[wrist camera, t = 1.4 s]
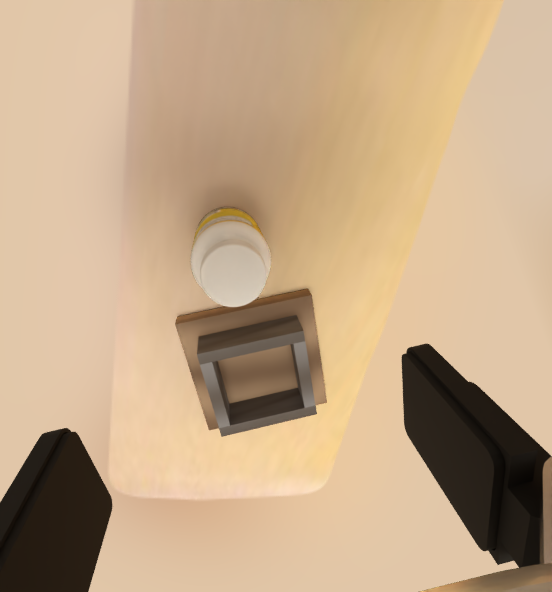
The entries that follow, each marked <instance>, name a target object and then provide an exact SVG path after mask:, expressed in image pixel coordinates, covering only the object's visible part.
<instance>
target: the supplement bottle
mask: <svg viewBox="0 0 552 592" xmlns="http://www.w3.org/2000/svg"><path fill="white" fill-rule="evenodd" d="M191 269H192V273H193V276H194V278H195V280H196V281H197V283H198V284H199V286H200V287H201V288H202V289H203V290H204V291H205V293H206V294H207V296H208V297H209V298H210V299H212V300H213V301H214V302H216V303H218V304H220V305H223V306H227V307H239V306H243V305H246V304H248V303H250V302H252V301H253V300H255V299H256V298H257V297H258V296H259V295H260V294H261V292H262V291H263V289H264V286H265V284H266V280H267V278H268V275H269V273H270V269H271V254H270V250H269V247H268V244H267V242H266V240H265V238H264V237H263V235H262V233H261V231H260V229H259V227H258V225H257V224H256V222H255V221H254V220H253V218H252V217H251V216H250V215H248V214H247V213H246V212H244V211H242V210H240V209H237V208H232V207H223V208H218V209H215V210H213V211H211V212H210V213H208V214H207V215H206V216H205V217H204V218H203V219H202V220H201V221H200V223H199V225H198V227H197V230H196V233H195V238H194V243H193V247H192V252H191Z"/></svg>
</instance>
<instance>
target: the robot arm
mask: <svg viewBox="0 0 552 592" xmlns="http://www.w3.org/2000/svg"><path fill="white" fill-rule="evenodd" d="M402 378H403V404H404V425H405V429H406V432H407V435H408V436H409V438H410V440H411V441H412V443H413V445H414V446H415V448H416V449H417V451H418V452H419V454H420V455H421V457H422V459H423V460H424V462H425V463H426V465H427V467H428V468H429V470H430V471H431V473H432V474H433V476H434V478H435V479H436V481H437V482H438V484H439V485H440V487H441V489H442V490H443V492H444V493H445V495H446V496H447V498H448V500H449V501H450V503H451V504H452V506H453V507H454V509H455V510H456V512H457V514H458V515H459V517H460V518H461V520H462V522H463V523H464V525H465V526H466V528H467V529H468V531H469V532H470V534H471V536H472V537H473V539H474V540H475V542H476V543H477V545H478V546H479V548H480V549H481V550H483V551H487V550H488V551H489V552H490V554H491V555H492V556H493V558H494V560H495V561H496V563H497V564H498V565H499V564H502V563H506V562H510V561H515V562H516V564H517V565H518V567H519V568H516V569H510V570H505V571H500V572H496V573H492V574H488V575H484V576H480V577H476V578H471V579H468V580H463V581H459V582H456V583H451V584H447V585H444V586H439V587H435V588H431V589H427V590H424V591H420V592H552V456H551V455H549V453H547V452H546V451H545V450H544V449H543V448H542V447H541V446H540V445H539V444H538V443H537V442H536V441H535V440H534V439H533V438H532V437H530V435H529V434H528V433H526V432H525V431H524V430H523V429H522V428H521V427H520V426H519V425H518V424H517V423H516V422H515V421H514V420H513V419H512V418H511V417H510V416H509V415H508V414H507V413H506V412H504V411H503V410H502V409H501V408H500V407H499V406H498V405H497V404H496V403H495V402H494V401H493V400H492V399H491V398H490V397H489V396H488V395H487V394H485V392H483V391H482V390H481V389H480V388H479V387H478V386H477V385H476V384H474V383H472V382H468V381H467V380H466V379H465V378H464V377H463V376H461V375H460V374H459V372H457V371H456V370H455V369H454V368H453V367H452V366H451V365H450V364H449V363H448V362H447V361H446V360H445V359H444V358H443V357H442V356H441V355H440V354H439V353H438V352H437V351H436V350H435V349H434V348H433V347H432V346H431V345H429V344H423V345H419V346H414V347H410V348H408V349H407V354H403V355H402ZM111 511H112V499H111V496H110V494H109V492H108V490H107V488H106V486H105V484H104V483H103V481H102V479H101V477H100V475H99V473H98V471H97V470H96V468H95V466H94V464H93V462H92V460H91V458H90V456H89V454H88V453H87V451H86V449H85V447H84V445H83V443H82V441H81V439H80V437H79V435H78V434H77V433H76V432H71V431H70V430H69V429H68V428H64V429H59V430H55V431H51V432H47V433H44V434H42V435H41V437H40V438H39V440H38V441H37V443H36V444H35V446H34V448H33V449H32V451H31V453H30V454H29V456H28V458H27V459H26V461H25V463H24V464H23V466H22V468H21V469H20V471H19V473H18V474H17V476H16V478H15V479H14V481H13V483H12V484H11V486H10V487H9V489H8V491H7V493H6V494H5V496H4V497H3V499H2V501H1V502H0V592H88V591H89V587H90V584H91V580H92V577H93V573H94V570H95V566H96V563H97V560H98V556H99V553H100V549H101V546H102V542H103V539H104V535H105V532H106V529H107V525H108V521H109V518H110V515H111Z"/></svg>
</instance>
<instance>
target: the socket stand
mask: <svg viewBox="0 0 552 592" xmlns="http://www.w3.org/2000/svg"><path fill="white" fill-rule="evenodd" d="M175 325H176V328H177V331H178V334H179V337H180V341H181V344H182V347H183V350H184V353H185V356H186V359H187V362H188V366H189V369H190V372H191V375H192V378H193V381H194V384H195V387H196V391H197V394H198V397H199V400H200V403H201V406H202V409H203V413H204V416H205V419H206V422H207V425H208V428H209V430H213V429H217V428H219V429H220V433H221V436H227V435H231V434H235V433H239V432H243V431H248V430H252V429H256V428H260V427H264V426H269V425H273V424H277V423H281V422H285V421H290V420H294V419H298V418H302V417H306V416H311V415H315V414H317V412H316V406H315V405H318V404H323V403H327V400H326V393H325V386H324V379H323V371H322V364H321V357H320V350H319V343H318V336H317V329H316V322H315V315H314V308H313V301H312V295H311V293H310V292H309V290H308V289H304V290H300V291H295V292H290V293H286V294H281V295H276V296H272V297H267V298H263V299H258V300H253V301H252V302H250V303H248V304H246V305H243V306H239V307H227V306H225V307H221V308H216V309H211V310H207V311H202V312H197V313H193V314H188V315H183V316H179V317H177V320H176V324H175Z"/></svg>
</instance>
